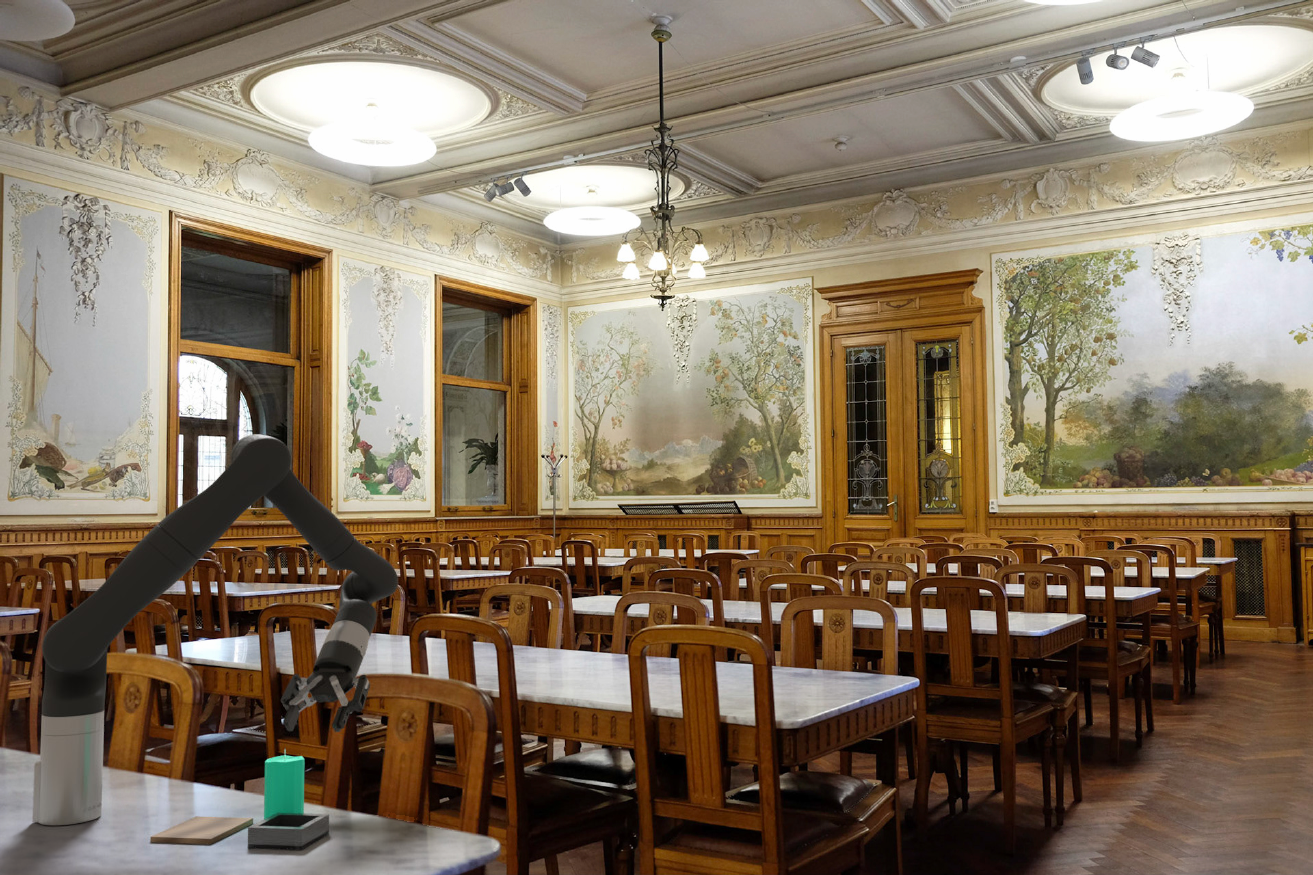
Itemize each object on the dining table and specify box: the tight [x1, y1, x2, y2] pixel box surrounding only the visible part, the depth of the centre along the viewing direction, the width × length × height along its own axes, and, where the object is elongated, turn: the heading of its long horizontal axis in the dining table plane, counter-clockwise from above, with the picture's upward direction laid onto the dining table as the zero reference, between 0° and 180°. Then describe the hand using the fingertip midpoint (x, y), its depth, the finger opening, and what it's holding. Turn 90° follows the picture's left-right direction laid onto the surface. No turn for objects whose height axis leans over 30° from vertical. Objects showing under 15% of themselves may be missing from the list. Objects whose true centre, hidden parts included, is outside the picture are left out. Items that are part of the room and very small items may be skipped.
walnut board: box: [149, 815, 254, 845], centre depth 172 cm, size 10×12×1 cm
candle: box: [263, 748, 306, 820], centre depth 175 cm, size 6×6×12 cm
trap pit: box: [247, 813, 330, 851], centre depth 166 cm, size 9×9×3 cm
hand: (311, 728), depth 185 cm, fingers open, 8 cm apart
